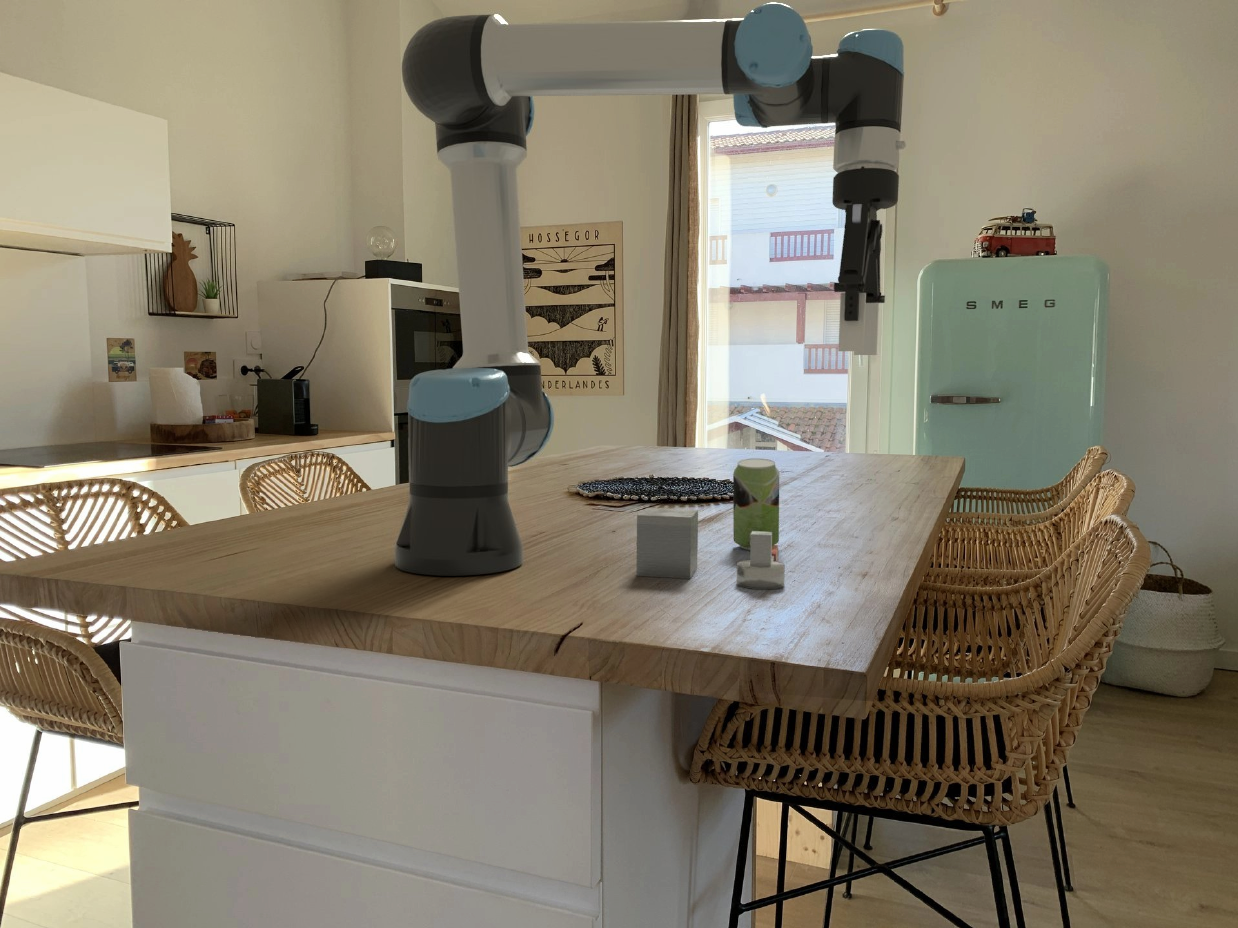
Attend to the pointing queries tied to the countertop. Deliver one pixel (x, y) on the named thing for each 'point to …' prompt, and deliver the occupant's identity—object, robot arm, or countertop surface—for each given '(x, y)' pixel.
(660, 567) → the brushed steel cube
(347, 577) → the countertop surface
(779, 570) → the ratchet
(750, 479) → the beverage can
